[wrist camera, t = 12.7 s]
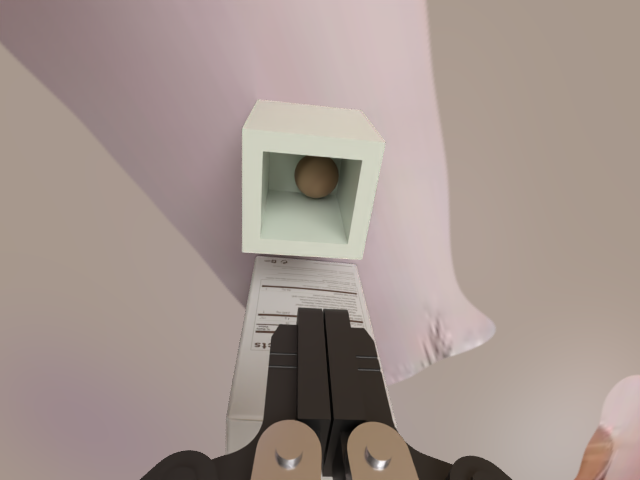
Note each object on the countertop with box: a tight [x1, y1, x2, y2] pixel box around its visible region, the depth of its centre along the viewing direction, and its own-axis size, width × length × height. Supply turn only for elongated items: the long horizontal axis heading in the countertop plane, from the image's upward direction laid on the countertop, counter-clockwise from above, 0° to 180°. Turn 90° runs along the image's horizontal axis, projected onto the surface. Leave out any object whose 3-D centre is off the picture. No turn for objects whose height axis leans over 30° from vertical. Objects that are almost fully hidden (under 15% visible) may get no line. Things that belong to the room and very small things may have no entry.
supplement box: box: [226, 256, 397, 480], centre depth 26 cm, size 9×9×15 cm
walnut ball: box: [294, 155, 339, 198], centre depth 24 cm, size 3×3×3 cm
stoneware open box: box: [242, 99, 386, 260], centre depth 23 cm, size 7×7×8 cm
